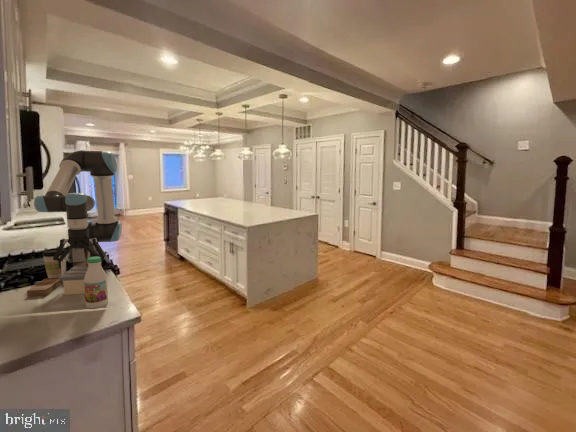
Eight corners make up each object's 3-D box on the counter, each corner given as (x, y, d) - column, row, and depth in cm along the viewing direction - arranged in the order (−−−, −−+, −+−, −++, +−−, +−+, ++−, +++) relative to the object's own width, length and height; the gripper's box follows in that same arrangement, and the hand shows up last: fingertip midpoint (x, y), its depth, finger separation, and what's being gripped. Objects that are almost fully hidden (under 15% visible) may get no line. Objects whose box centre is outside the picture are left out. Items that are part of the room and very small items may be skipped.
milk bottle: (88, 302, 125) (85, 255, 122) (109, 300, 127) (107, 254, 124) (83, 310, 117) (79, 261, 115) (106, 308, 120) (103, 259, 117)
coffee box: (88, 274, 156) (86, 244, 154) (73, 276, 154) (71, 245, 151) (91, 269, 165) (89, 240, 162) (77, 270, 162) (75, 241, 159)
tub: (79, 283, 145) (78, 269, 144) (98, 282, 147) (97, 268, 146) (64, 296, 130) (63, 281, 129) (85, 295, 132) (84, 279, 131)
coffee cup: (44, 284, 141) (41, 253, 139) (43, 278, 149) (41, 249, 147) (70, 280, 148) (67, 250, 146) (68, 275, 155) (66, 246, 153)
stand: (45, 285, 141) (45, 278, 140) (63, 284, 143) (62, 277, 142) (27, 298, 126) (27, 290, 126) (47, 297, 128) (46, 289, 128)
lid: (74, 271, 143) (74, 265, 143) (100, 270, 146) (100, 264, 146) (59, 283, 129) (59, 276, 128) (89, 281, 131) (88, 274, 131)
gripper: (40, 230, 127) (45, 278, 130) (106, 228, 134) (109, 275, 137) (49, 226, 134) (53, 272, 137) (111, 225, 141) (114, 269, 144)
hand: (81, 274), depth 137 cm, fingers open, 13 cm apart
